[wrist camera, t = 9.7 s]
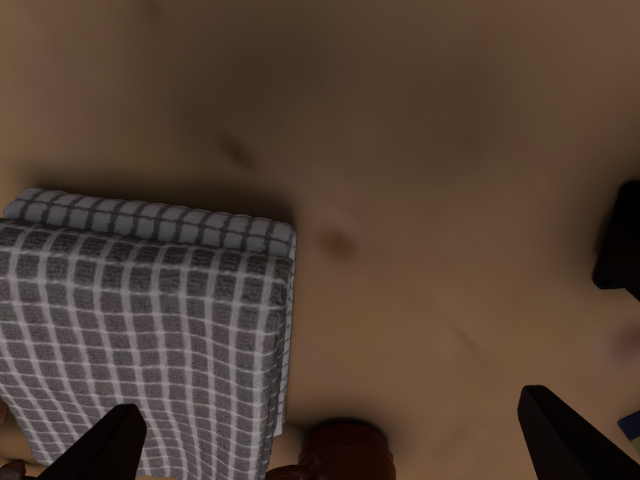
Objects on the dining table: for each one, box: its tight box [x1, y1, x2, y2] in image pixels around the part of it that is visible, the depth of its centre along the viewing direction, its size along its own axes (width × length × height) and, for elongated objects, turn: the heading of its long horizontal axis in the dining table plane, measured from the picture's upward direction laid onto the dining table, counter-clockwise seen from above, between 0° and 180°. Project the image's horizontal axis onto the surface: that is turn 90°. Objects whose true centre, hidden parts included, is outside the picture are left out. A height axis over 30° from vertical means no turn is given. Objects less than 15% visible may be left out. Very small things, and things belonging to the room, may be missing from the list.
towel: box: [0, 187, 297, 480], centre depth 22 cm, size 15×18×8 cm
